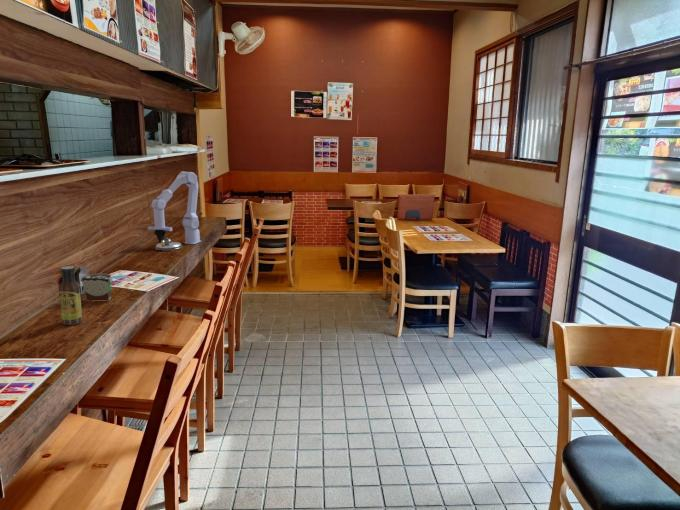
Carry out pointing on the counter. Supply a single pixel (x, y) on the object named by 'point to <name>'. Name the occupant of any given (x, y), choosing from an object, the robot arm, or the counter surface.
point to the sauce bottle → (70, 297)
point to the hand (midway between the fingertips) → (161, 242)
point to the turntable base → (168, 249)
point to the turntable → (173, 245)
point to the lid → (167, 241)
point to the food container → (97, 286)
